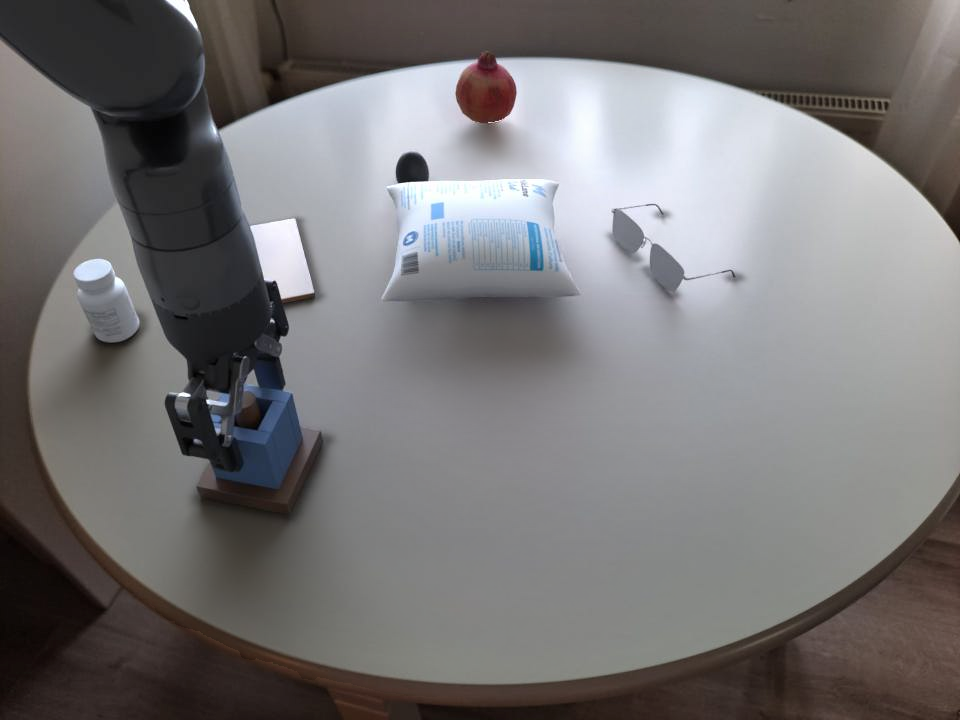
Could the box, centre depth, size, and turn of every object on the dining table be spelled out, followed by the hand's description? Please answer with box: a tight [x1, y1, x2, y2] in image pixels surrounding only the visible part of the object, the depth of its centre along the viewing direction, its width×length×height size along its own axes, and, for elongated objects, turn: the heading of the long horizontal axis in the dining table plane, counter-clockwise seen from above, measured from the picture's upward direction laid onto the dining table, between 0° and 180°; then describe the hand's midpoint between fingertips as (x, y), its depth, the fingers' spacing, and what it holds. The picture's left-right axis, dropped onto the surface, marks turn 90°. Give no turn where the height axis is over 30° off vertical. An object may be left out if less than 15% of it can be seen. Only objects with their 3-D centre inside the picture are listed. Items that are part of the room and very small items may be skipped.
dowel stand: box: [195, 390, 324, 515], centre depth 67 cm, size 8×8×9 cm
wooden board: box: [250, 217, 316, 304], centre depth 88 cm, size 14×14×1 cm
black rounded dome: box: [395, 149, 430, 184], centre depth 98 cm, size 4×4×5 cm
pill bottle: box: [73, 258, 140, 343], centre depth 79 cm, size 4×4×8 cm
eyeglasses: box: [610, 203, 737, 292], centre depth 90 cm, size 14×8×4 cm, turn 27°
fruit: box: [455, 50, 518, 125], centre depth 108 cm, size 8×8×10 cm
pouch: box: [381, 178, 582, 303], centre depth 87 cm, size 8×19×20 cm
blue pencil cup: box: [208, 383, 303, 489], centre depth 67 cm, size 6×6×6 cm
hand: (252, 425), depth 66 cm, fingers open, 8 cm apart
